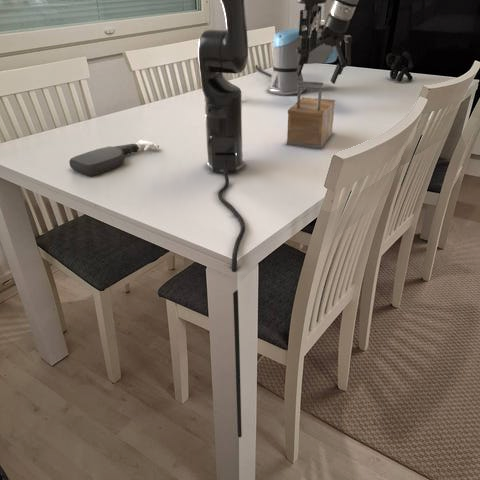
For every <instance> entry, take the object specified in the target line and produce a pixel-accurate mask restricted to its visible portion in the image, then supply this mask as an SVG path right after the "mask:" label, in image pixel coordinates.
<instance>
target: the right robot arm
mask: <svg viewBox="0 0 480 480" xmlns="http://www.w3.org/2000/svg"><path fill="white" fill-rule="evenodd" d="M359 1H360V0H327V1H326V2H325V3H322V4H318V6H321V7H322V9H321V23H320V27H321V28H320V30H319V32H318V33H317V34H318V35H317V47H316V48H310V52H309V53H308V54H302V53H301V37H300V36H299V28H289V29H285V30H280V31H278V32H276V33H275V34H274V36H273V43H272V47H273V51H272V53H273V55H272V56H273V57H272V58H273V59H272V73H268V72H267V71H265V70H262V69H260V68H258V64H256V65H255V69H256V70H257V71H258V72H260V73H261V74H264V75H266V76H268V77H270V80H269V82H268V85H267V86H268V87H267V88H268V89H267V91H268V92H269V93H270V94H273V95H280V96H295V95H298V87H297V82H298V81H304V77H303V74H302V73H303V72H302V71H303V68H304V65H314V64H315V65H317V64H323V65H325V64H331V63H334V62H336V61H337V59H339V62H337V64H336V66H335V69H334V71H333V74H332V76H331V78H330V82H331V84H333V85H335V84H336V82H337V79H338V77H339V76H340V75H342V73H343V70H344V68H346V67H347V66H348V67H350V66H351V64H352V45H351V44H352V41H353V37H352V36H351V35H350V34H347V35H346V32H347V30H348V28H349V25H350V23H351V22H350V21H351V20H352V18H353V16H354V13H355V10H356V8H357V5H358V3H359ZM316 22H317V20H316ZM343 41H344V49H345V55H344V54H343V51H342V42H343ZM305 91H306V88H303V87H301V94H302V93H305Z"/></svg>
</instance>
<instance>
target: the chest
mask: <svg viewBox="0 0 480 480" xmlns="http://www.w3.org/2000/svg"><path fill="white" fill-rule="evenodd" d="M334 114H335V104H334V105H333V106H332V107H331V108H330V109H329V111H328V112H327V113H326V114H325V115H324V116H323V117H315V116H306V115H296V114H288V113H287V131H286V132H287V133H286V134H287V137H286V145H287V146H295V147H301V148H303V147H304V148H310V149H318V150H320V149H322V147H323V146H324V145H325V144H326V142H327V141H328V140H329V138H330V137H331V135H332V134H333V128H334V127H333V125H334V116H335V115H334Z"/></svg>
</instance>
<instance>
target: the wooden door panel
mask: <svg viewBox="0 0 480 480" xmlns="http://www.w3.org/2000/svg"><path fill="white" fill-rule="evenodd" d="M297 87H298V94H297V101H296V102H295V103H294V104H293V105H292V106H291V107H290V108H289V109H287V115H288V114H296V115H306V116H315V117H323V116H324V115H325V114H326V113H327V112H328V111H329V109H330V108H331V107H332V106H333V105H334V104H335V103H336V100H335V99H327V98H322V93H323V91H322V90H323V88H324V83H323V82H320V81H318V82H317V81H305V80H303V81H298V82H297ZM301 87H303V88H305V89H317V90H318V92H317V93H318V94H317V95H318V96H317V98H316V97H301V95H302V93H301Z"/></svg>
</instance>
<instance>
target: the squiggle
mask: <svg viewBox="0 0 480 480" xmlns="http://www.w3.org/2000/svg"><path fill="white" fill-rule="evenodd" d="M401 57H402V59H401ZM391 59H392V60H391ZM393 60H394V61H393ZM385 61H386V64H387V67H390V68H391V70H390V72H389V78H390V79H391V80H395V79H396V81H397V82H399V83H400V82H402V81H403V79H404V76H406V78H407V80H408V81H412V80H413V79H414V77H413V75H412V74H411V73H410V72H409V71H410V70H412V69H413V68H414V64H413V61H412V57H411V54H410V53H409V52H408V51H403V53H402V54H401V55H396V54H394V53H392V52H390V53H387V55H386V57H385ZM406 62H407V65H408V66H407V67H405V66H404V65H405V64H406ZM400 70H401V71H400Z"/></svg>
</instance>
